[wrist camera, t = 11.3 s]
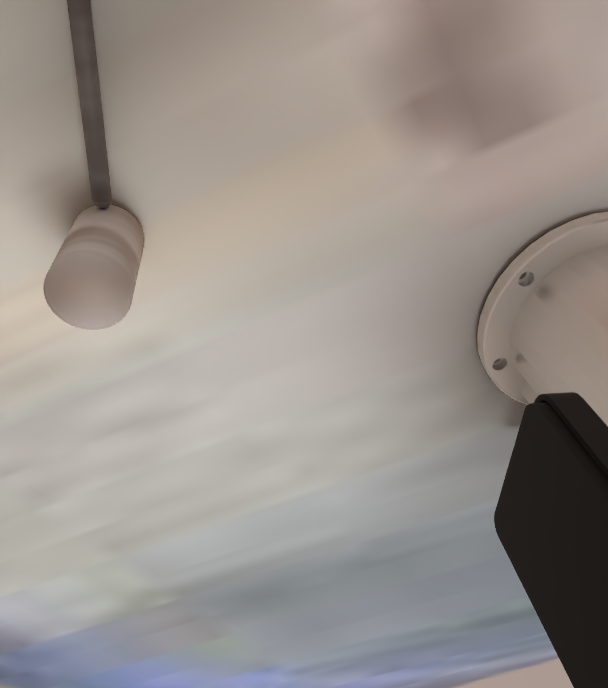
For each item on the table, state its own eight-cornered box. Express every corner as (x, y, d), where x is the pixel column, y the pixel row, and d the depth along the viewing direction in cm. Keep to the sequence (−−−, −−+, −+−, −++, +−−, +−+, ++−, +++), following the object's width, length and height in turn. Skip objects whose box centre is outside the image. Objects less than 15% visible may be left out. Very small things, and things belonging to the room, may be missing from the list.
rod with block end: (165, 269, 28) (158, 328, 23) (57, 269, 27) (26, 330, 22) (128, -336, 17) (101, -454, 12) (-53, -368, 16) (-156, -507, 12)
